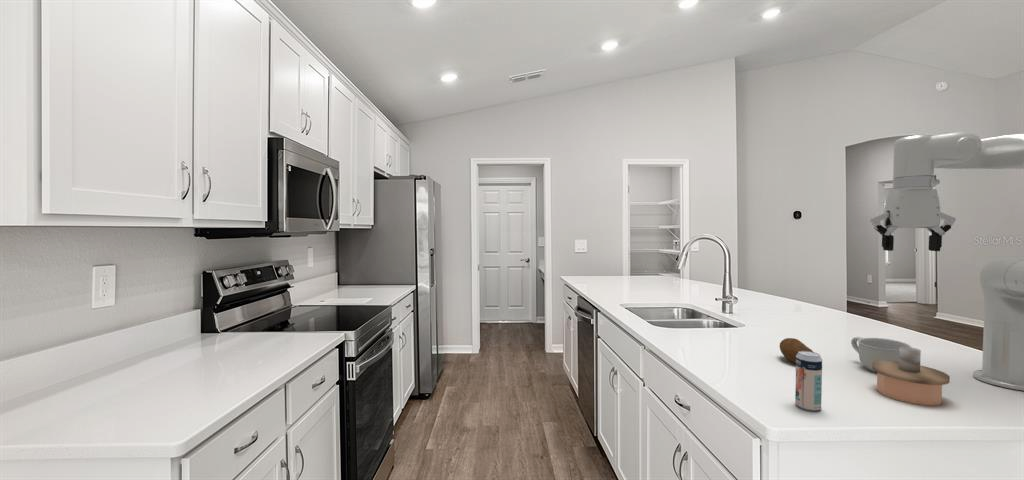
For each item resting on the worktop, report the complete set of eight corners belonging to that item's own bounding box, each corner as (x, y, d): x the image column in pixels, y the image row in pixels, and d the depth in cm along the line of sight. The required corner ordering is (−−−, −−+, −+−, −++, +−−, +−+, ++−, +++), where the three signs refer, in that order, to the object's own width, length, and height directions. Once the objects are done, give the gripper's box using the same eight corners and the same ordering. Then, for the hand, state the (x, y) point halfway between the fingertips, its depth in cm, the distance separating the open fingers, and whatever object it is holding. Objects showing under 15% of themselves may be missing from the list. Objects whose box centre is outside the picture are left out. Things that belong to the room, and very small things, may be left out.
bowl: (921, 388, 100) (922, 368, 99) (954, 407, 89) (955, 385, 89) (868, 384, 103) (868, 364, 103) (893, 401, 92) (894, 380, 92)
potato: (800, 370, 113) (801, 345, 113) (769, 357, 124) (769, 334, 124) (822, 368, 114) (823, 344, 114) (789, 355, 125) (789, 333, 125)
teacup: (922, 378, 106) (923, 348, 106) (880, 378, 106) (881, 348, 106) (876, 361, 120) (876, 334, 120) (838, 361, 120) (839, 334, 120)
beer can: (796, 400, 93) (796, 348, 93) (822, 406, 90) (823, 353, 90) (793, 408, 90) (794, 354, 89) (821, 414, 87) (822, 358, 86)
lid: (924, 367, 100) (925, 343, 100) (966, 387, 88) (966, 360, 88) (861, 362, 104) (861, 339, 104) (891, 381, 91) (892, 354, 91)
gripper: (944, 184, 107) (942, 250, 107) (864, 187, 112) (863, 249, 112) (966, 182, 99) (964, 252, 100) (880, 184, 105) (878, 251, 105)
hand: (910, 250), depth 106 cm, fingers open, 9 cm apart
